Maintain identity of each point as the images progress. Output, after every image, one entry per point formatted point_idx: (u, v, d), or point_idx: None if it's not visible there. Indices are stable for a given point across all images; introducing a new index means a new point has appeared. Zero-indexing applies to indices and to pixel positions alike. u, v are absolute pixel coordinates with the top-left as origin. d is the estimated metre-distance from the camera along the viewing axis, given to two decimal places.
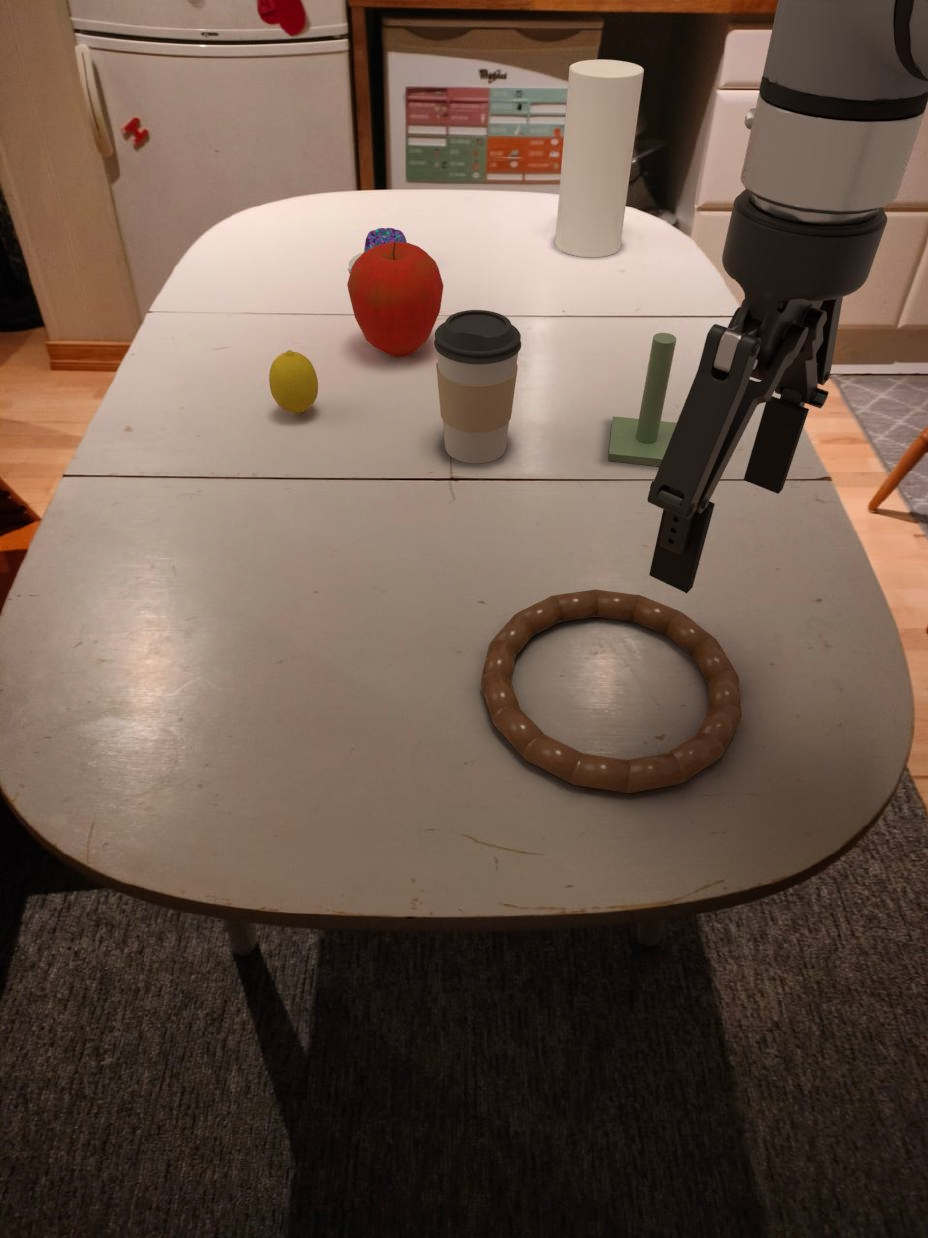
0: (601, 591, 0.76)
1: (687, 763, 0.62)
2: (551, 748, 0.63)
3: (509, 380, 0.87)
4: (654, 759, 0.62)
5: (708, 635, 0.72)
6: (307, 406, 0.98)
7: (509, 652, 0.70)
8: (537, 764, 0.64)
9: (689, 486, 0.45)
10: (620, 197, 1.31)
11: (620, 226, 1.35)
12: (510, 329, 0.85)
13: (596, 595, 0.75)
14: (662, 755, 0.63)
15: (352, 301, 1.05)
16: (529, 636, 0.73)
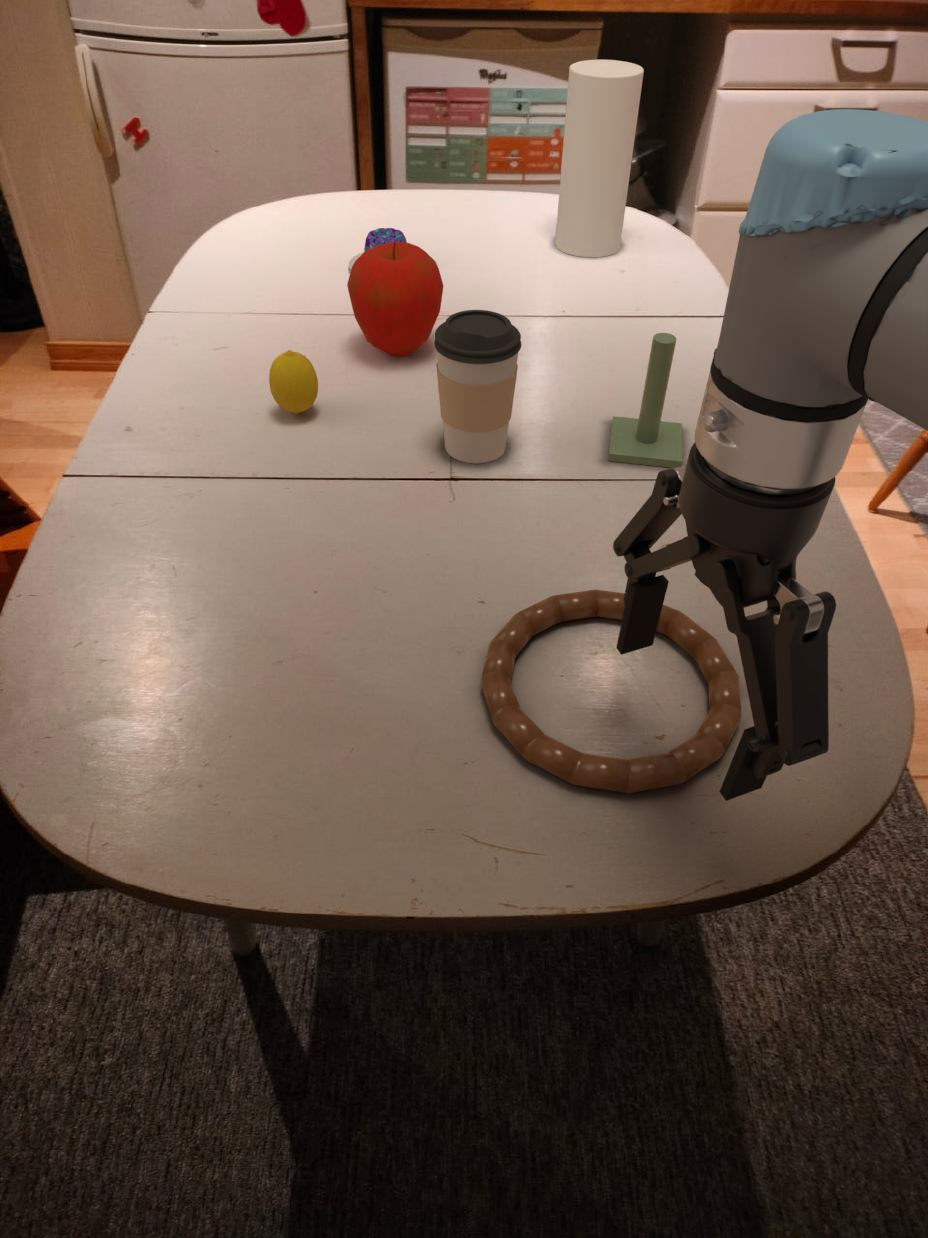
0: (601, 591, 0.76)
1: (687, 763, 0.62)
2: (551, 748, 0.63)
3: (509, 380, 0.87)
4: (654, 759, 0.62)
5: (708, 635, 0.72)
6: (307, 406, 0.98)
7: (509, 652, 0.70)
8: (537, 764, 0.64)
9: (822, 730, 0.47)
10: (620, 197, 1.31)
11: (620, 226, 1.35)
12: (510, 329, 0.85)
13: (596, 595, 0.75)
14: (662, 755, 0.63)
15: (352, 301, 1.05)
16: (529, 636, 0.73)
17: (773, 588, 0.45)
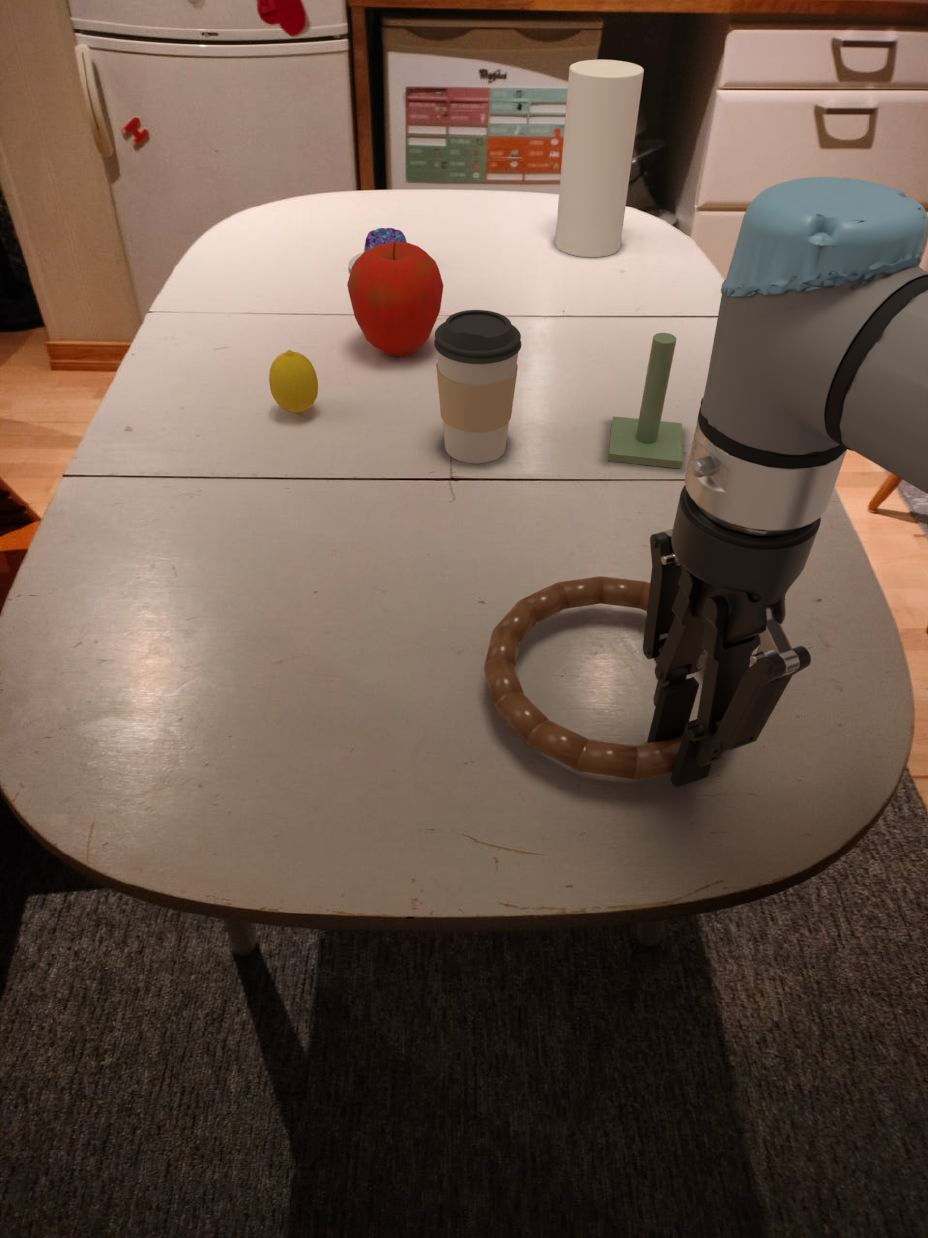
0: (606, 577, 0.74)
1: None
2: (556, 734, 0.61)
3: (509, 380, 0.87)
4: (662, 744, 0.61)
5: None
6: (307, 406, 0.98)
7: (513, 638, 0.69)
8: (542, 750, 0.62)
9: (756, 731, 0.53)
10: (620, 197, 1.31)
11: (620, 226, 1.35)
12: (510, 329, 0.85)
13: (601, 582, 0.73)
14: (670, 740, 0.61)
15: (352, 301, 1.05)
16: (533, 623, 0.71)
17: (760, 631, 0.47)
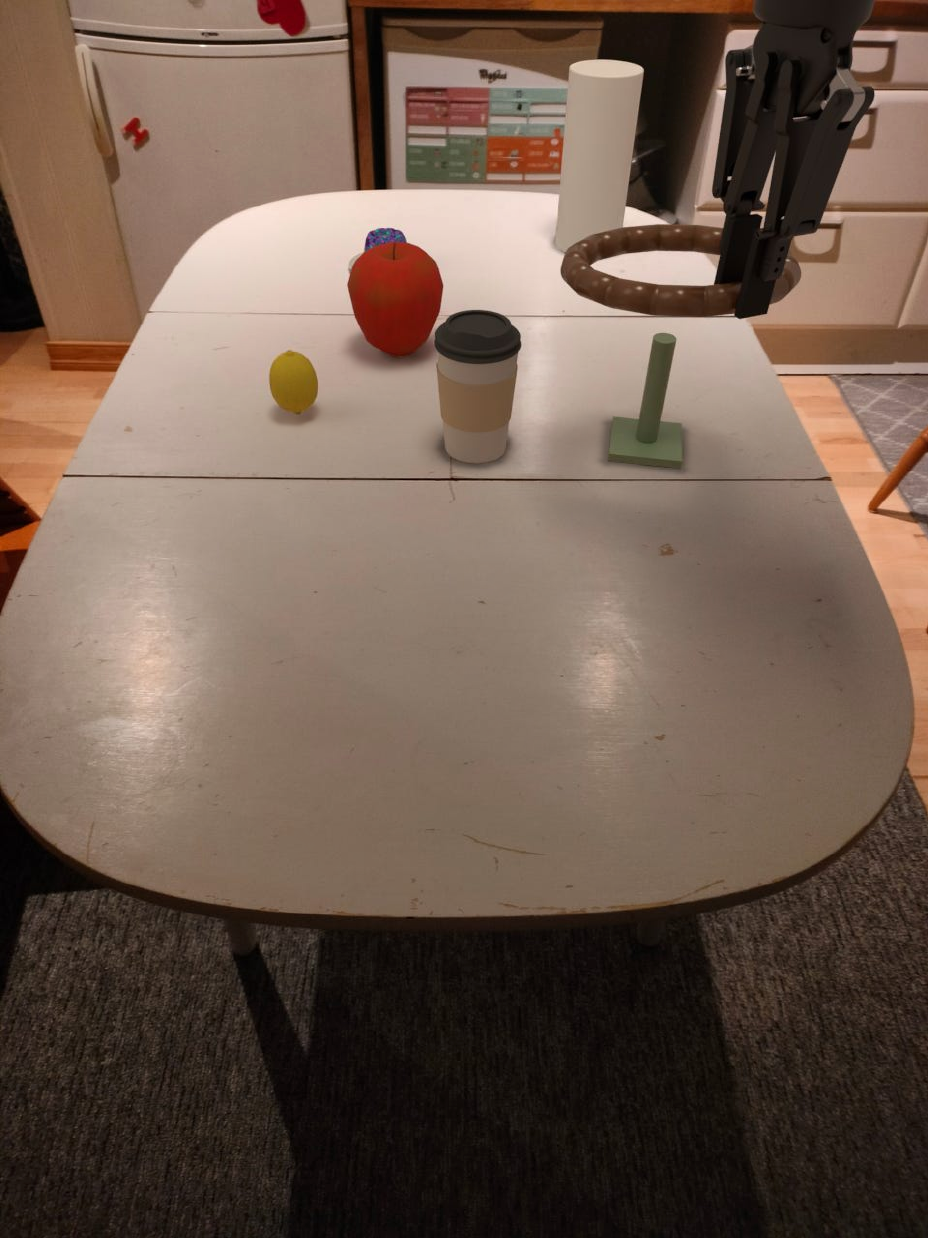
0: None
1: None
2: (631, 282, 0.70)
3: (509, 380, 0.87)
4: (726, 283, 0.69)
5: None
6: (307, 406, 0.98)
7: (584, 250, 0.77)
8: (618, 301, 0.70)
9: (819, 212, 0.61)
10: (620, 197, 1.31)
11: (620, 226, 1.35)
12: (510, 329, 0.85)
13: (658, 225, 0.82)
14: None
15: (352, 301, 1.05)
16: (600, 250, 0.80)
17: (830, 75, 0.55)
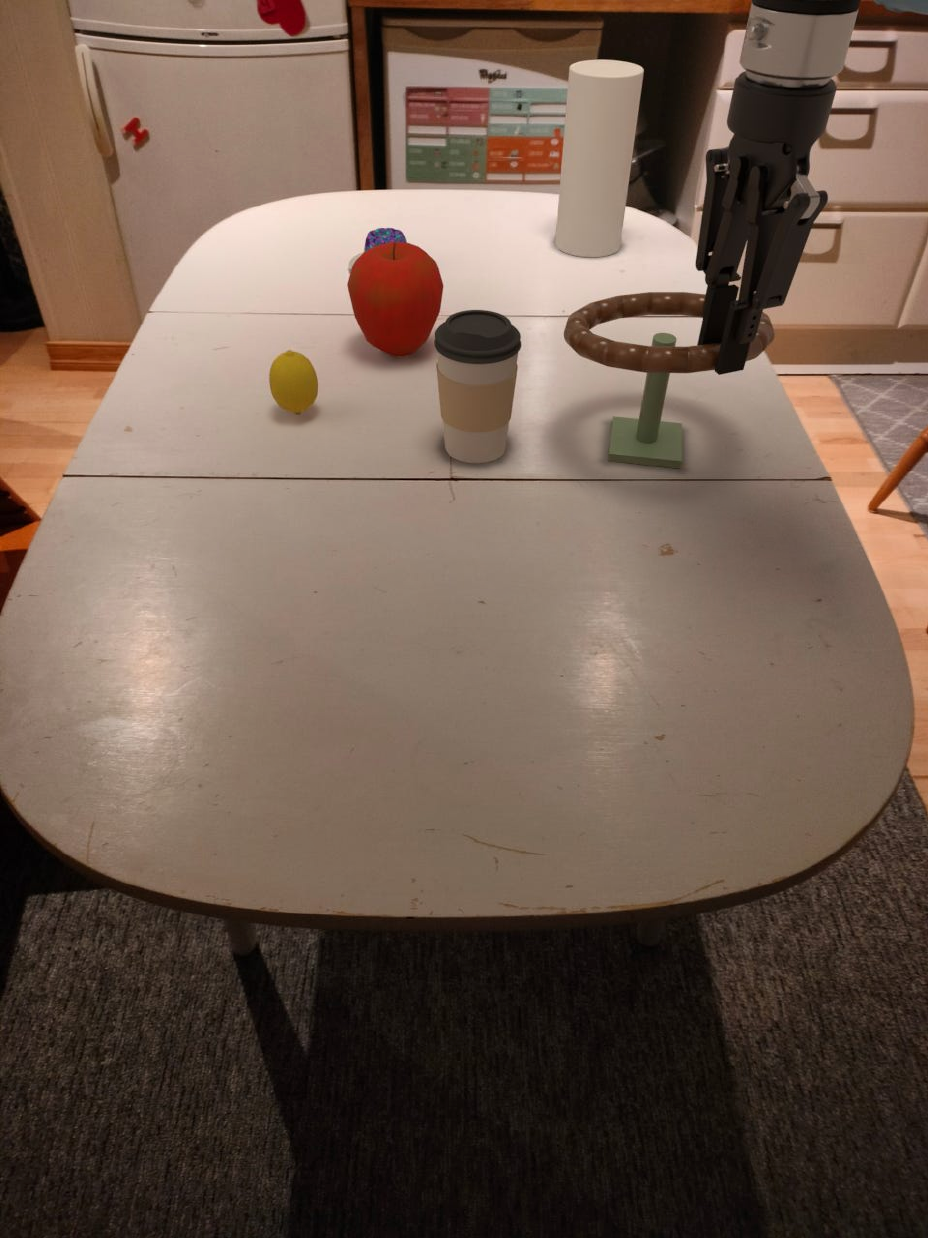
0: None
1: None
2: (624, 344, 0.80)
3: (509, 380, 0.87)
4: (707, 344, 0.79)
5: None
6: (307, 406, 0.98)
7: (584, 317, 0.89)
8: (614, 361, 0.81)
9: (785, 289, 0.71)
10: (620, 197, 1.31)
11: (620, 226, 1.35)
12: (510, 329, 0.85)
13: (650, 293, 0.94)
14: (713, 343, 0.80)
15: (352, 301, 1.05)
16: (598, 316, 0.91)
17: (791, 180, 0.65)
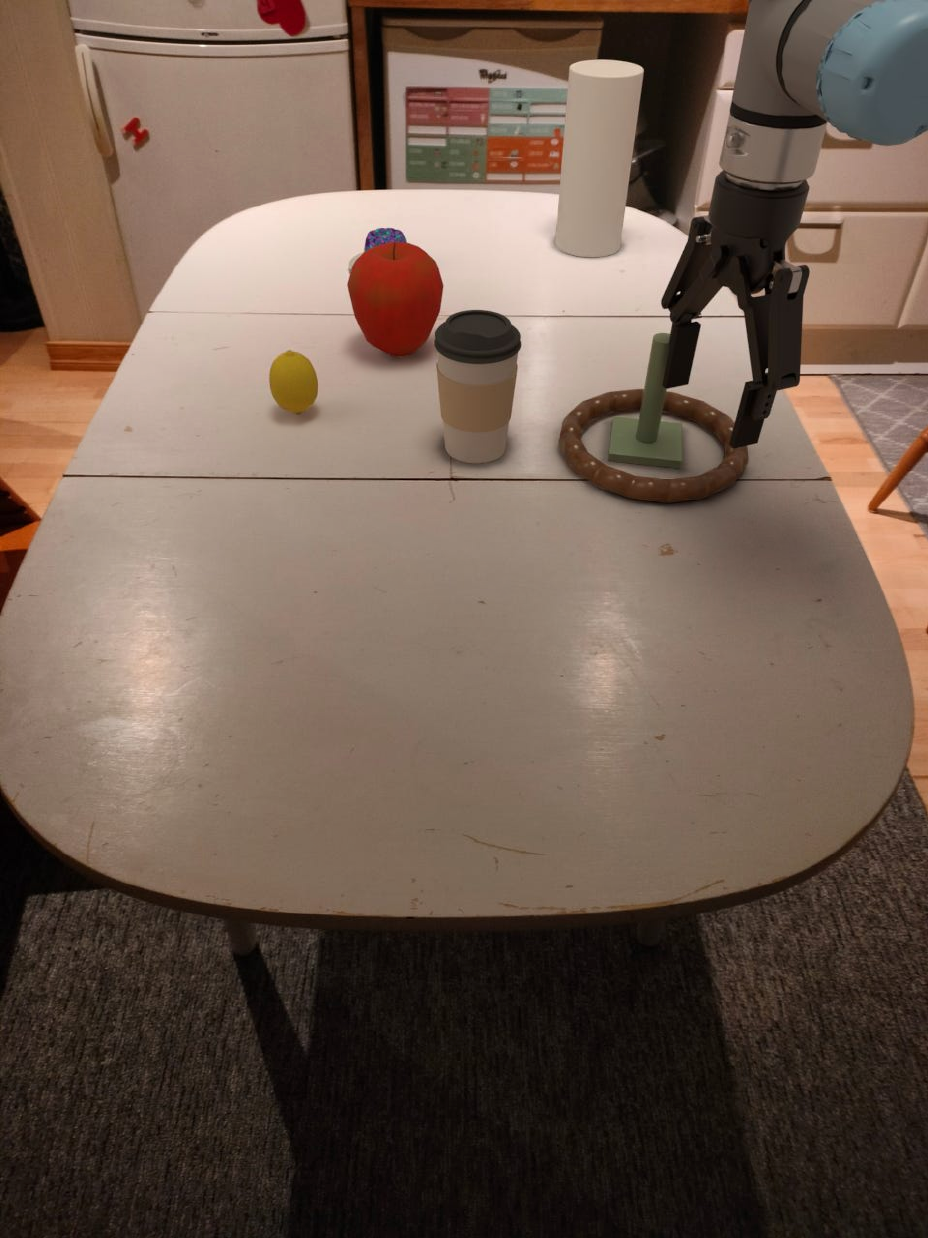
0: (643, 389, 1.01)
1: (710, 481, 0.88)
2: (613, 472, 0.89)
3: (509, 380, 0.87)
4: (687, 478, 0.88)
5: None
6: (307, 406, 0.98)
7: (578, 422, 0.96)
8: (603, 485, 0.89)
9: (796, 366, 0.72)
10: (620, 197, 1.31)
11: (620, 226, 1.35)
12: (510, 329, 0.85)
13: (640, 391, 1.01)
14: (692, 476, 0.88)
15: (352, 301, 1.05)
16: (591, 416, 0.98)
17: (770, 265, 0.70)
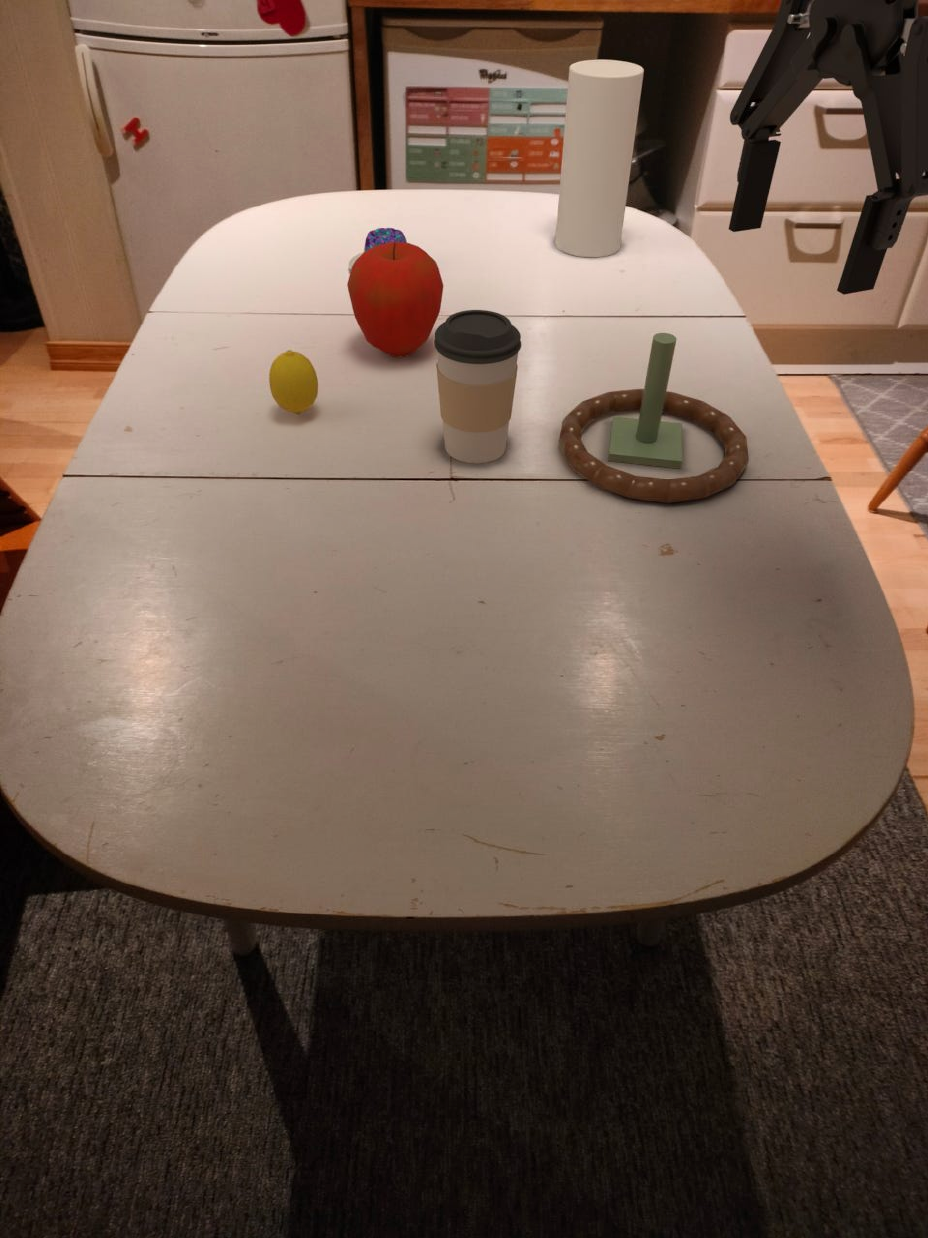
0: (643, 389, 1.01)
1: (710, 481, 0.88)
2: (613, 472, 0.89)
3: (509, 380, 0.87)
4: (687, 478, 0.88)
5: None
6: (307, 406, 0.98)
7: (578, 422, 0.96)
8: (603, 485, 0.89)
9: None
10: (620, 197, 1.31)
11: (620, 226, 1.35)
12: (510, 329, 0.85)
13: (640, 391, 1.01)
14: (692, 476, 0.88)
15: (352, 301, 1.05)
16: (591, 416, 0.98)
17: (899, 25, 0.53)
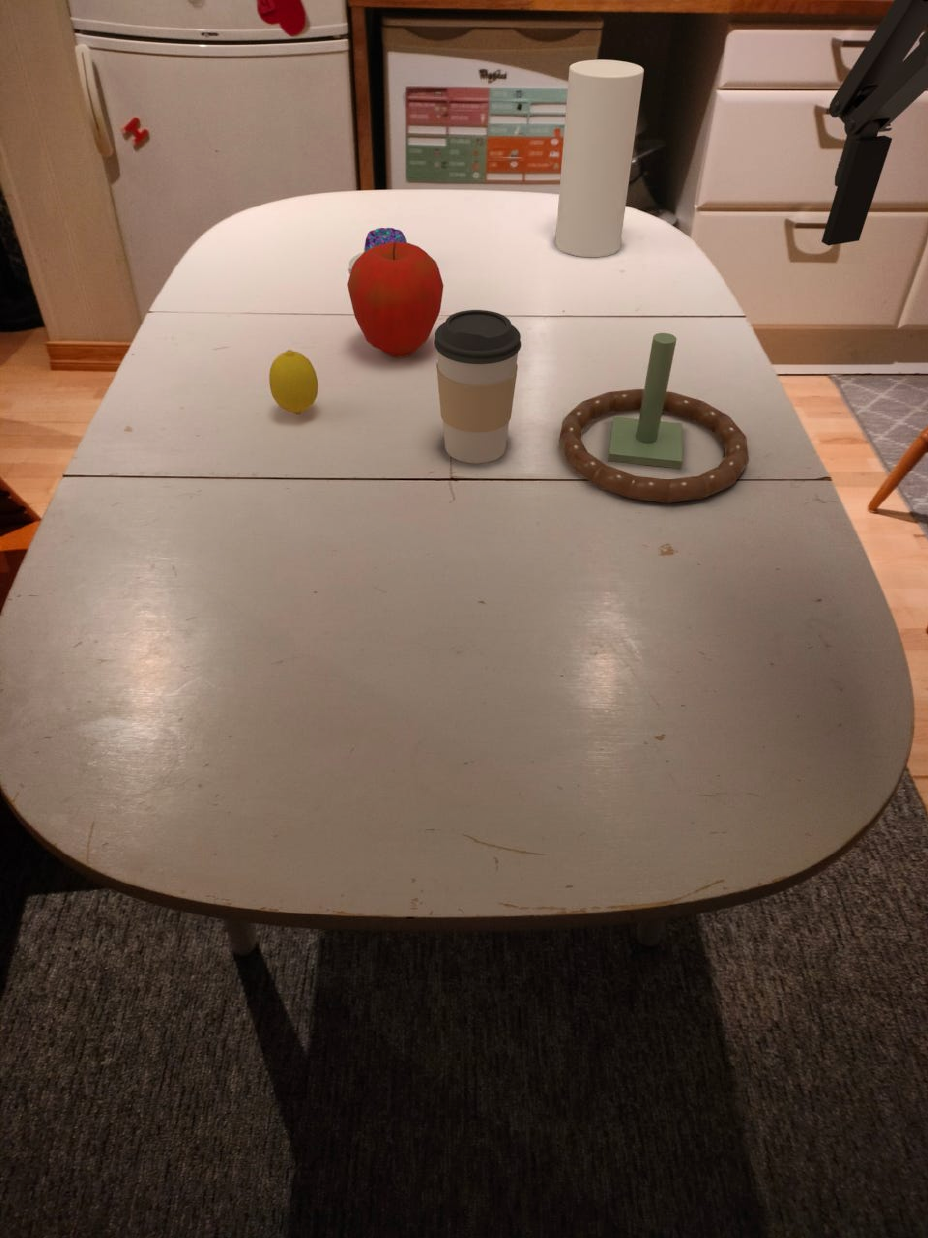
0: (643, 389, 1.01)
1: (710, 481, 0.88)
2: (613, 472, 0.89)
3: (509, 380, 0.87)
4: (687, 478, 0.88)
5: None
6: (307, 406, 0.98)
7: (578, 422, 0.96)
8: (603, 485, 0.89)
9: None
10: (620, 197, 1.31)
11: (620, 226, 1.35)
12: (510, 329, 0.85)
13: (640, 391, 1.01)
14: (692, 476, 0.88)
15: (352, 301, 1.05)
16: (591, 416, 0.98)
17: None
